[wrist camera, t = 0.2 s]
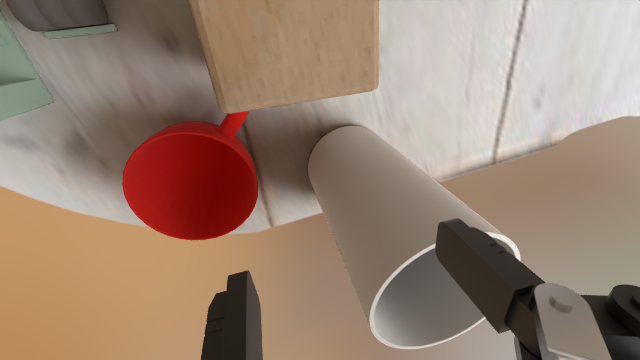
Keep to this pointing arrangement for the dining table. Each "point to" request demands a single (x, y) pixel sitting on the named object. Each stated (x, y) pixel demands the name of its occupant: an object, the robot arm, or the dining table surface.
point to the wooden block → (287, 50)
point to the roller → (58, 13)
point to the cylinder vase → (394, 237)
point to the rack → (80, 31)
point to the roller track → (18, 77)
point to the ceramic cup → (193, 180)
